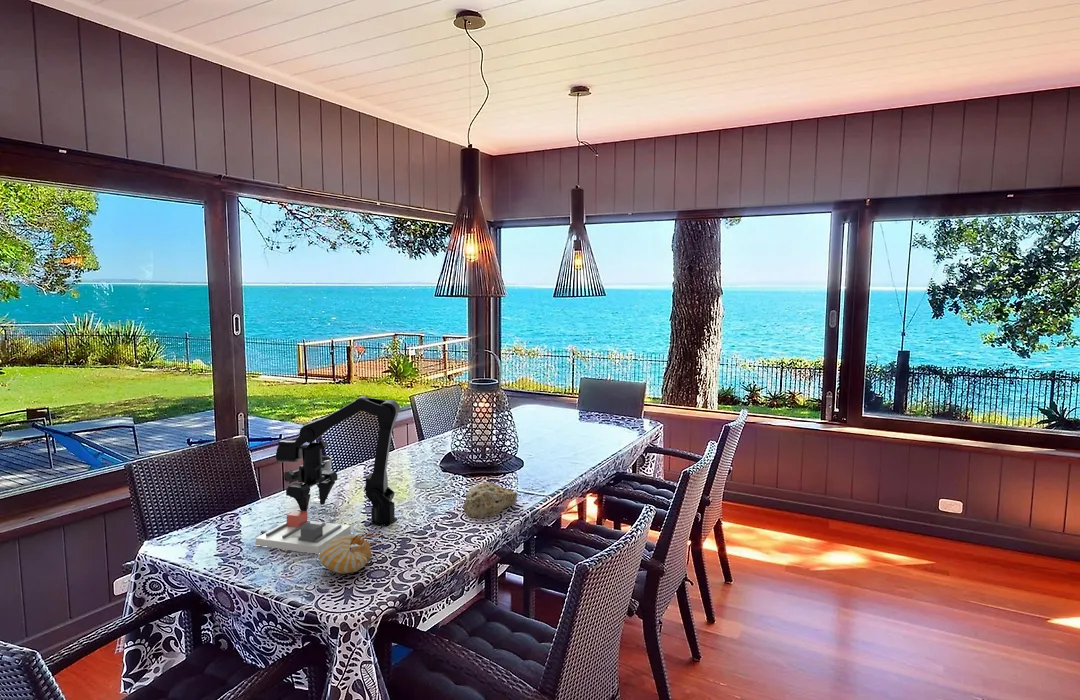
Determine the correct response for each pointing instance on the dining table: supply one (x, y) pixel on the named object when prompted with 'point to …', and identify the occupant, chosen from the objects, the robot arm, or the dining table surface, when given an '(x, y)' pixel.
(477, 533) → the dining table surface
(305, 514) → the red switch
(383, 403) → the robot arm
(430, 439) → the dining table surface
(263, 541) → the white flat slab
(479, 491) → the rock
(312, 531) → the grey cube
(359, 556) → the nautilus
